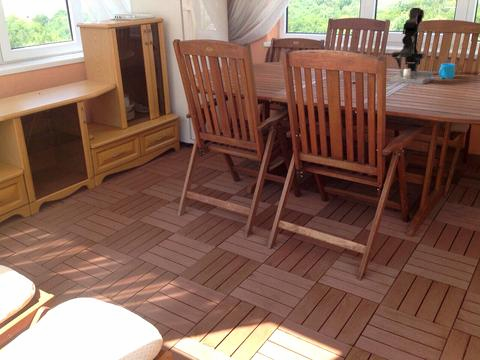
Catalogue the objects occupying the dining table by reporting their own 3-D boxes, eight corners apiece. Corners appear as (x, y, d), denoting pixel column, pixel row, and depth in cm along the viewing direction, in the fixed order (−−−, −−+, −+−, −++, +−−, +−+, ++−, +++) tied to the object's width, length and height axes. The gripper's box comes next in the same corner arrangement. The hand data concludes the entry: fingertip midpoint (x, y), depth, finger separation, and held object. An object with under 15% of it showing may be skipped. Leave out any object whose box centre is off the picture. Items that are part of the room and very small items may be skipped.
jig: (400, 77, 319) (400, 70, 317) (431, 79, 307) (432, 72, 305) (390, 81, 307) (390, 74, 306) (422, 84, 296) (423, 76, 294)
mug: (445, 75, 317) (446, 62, 314) (456, 77, 311) (458, 64, 308) (433, 78, 311) (434, 65, 308) (444, 80, 305) (446, 66, 301)
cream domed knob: (404, 79, 312) (405, 68, 309) (410, 79, 309) (411, 68, 307) (401, 80, 309) (402, 69, 306) (408, 81, 306) (409, 69, 304)
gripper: (389, 44, 300) (387, 70, 306) (420, 45, 289) (417, 72, 295) (396, 42, 308) (394, 67, 314) (426, 43, 297) (424, 69, 303)
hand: (407, 69), depth 306 cm, fingers open, 9 cm apart
